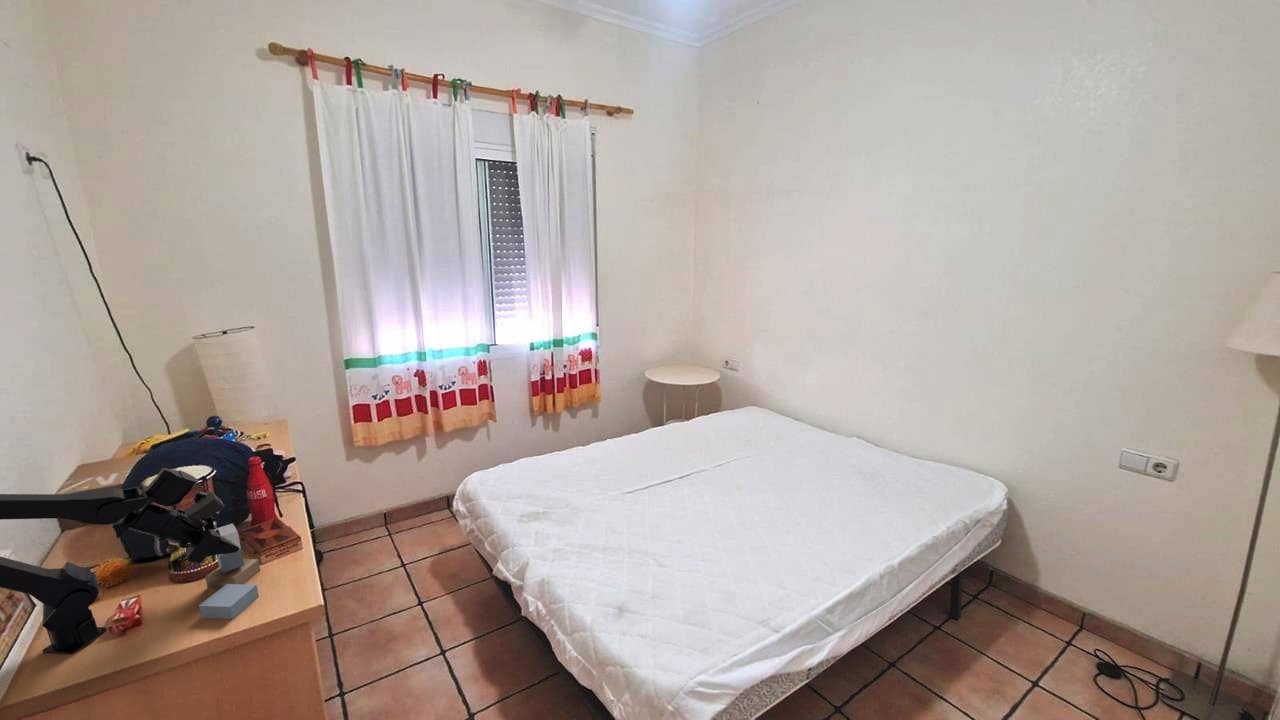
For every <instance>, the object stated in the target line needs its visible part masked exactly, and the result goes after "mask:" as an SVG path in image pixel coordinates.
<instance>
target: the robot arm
mask: <svg viewBox="0 0 1280 720" xmlns="http://www.w3.org/2000/svg"><path fill="white" fill-rule="evenodd" d="M198 483H199V479H198V478H197V477H195V476H193V475H191V474H189V473H187V471H186V472H185V471H183V470H177V469H173V468H172V469H171V468H166V467H162V468H161V469H160V470H159V472H158V473H157V476H155V477H154V479H152V481H150V483H149V484H148V485H147V486H145V485H141V486H135V487H129V488H123V489H121V488H118V487H105V488H96V489H88V490H83V491H79V492H74V493H65V494H61V493H60V494H57V493H55V494H54V493H53V494H49V493H46V494H45V493H44V494H40V493H38V494H36V493H35V494H32V493H29V494H28V493H22V494H21V493H14V494H13V493H11V494H8V493H0V520H43V519H44V520H45V519H49V520H51V519H61V520H69V521H74V522H76V523H80V524H91V525H103V526H107V525H111V528H112V529H113V530H114V533H115V537H116V539H119V538H122V536H124V534H125V533H126V532H127V531H128V530H132V531H134V532H135V531H138V532H141V533H145V534H148V535H152V536H155V537H157V539H158V541H161V542H164V541H165V540H168V541H172V542H175V543H178V545H179V547H181V548H185V546H186V545H187V544H188V543H191V544H190V546H189V547H188V548H187V549H186V552H185V554H186V556H187V559H188V562H189V563H193V564H195V565H196V564H197V565H200V564H202V563H203V561H204V560H205V558H206V557H212V556H217V555H220V554H228V553H236V552H237V551H238V550H239V547H237V546H236V545H234V544H232V543H230V542H228V541H226V540H224V539H222V538H221V537H220V532H219V531H218V529H217V528H218V527H217V526H216V525H215V524H214V519H213V517H212V516H213V515H215V514H216V513H218V512H221V511H222V510H224V508H225V506H226V505H225V504H224V503H223V501H222V500H221V498H219V497H218V496H217V495H216V494H215V493H214V492H211V491H208V492H203V491H198V492H196V493H194V494H193V495H192V499H193V501H194V504H193V503H192V504H191V506H190V507H189V508H187V509H186V510H184V509H181V508H179V509H177V508H176V509H175V510H171V509H168V508H165V507H162V506H166V507H170V506H174V505H175V504H179V503H182V501H183V500H184V499H185V497H186V496H187V495H188V494H189V493H190V492H191V491H192V490H193V489H194V487H195V486H196V485H197V484H198ZM161 505H162V506H161ZM213 529H217V530H216V531H214V530H213ZM0 589H4V590H5V589H6V590H10V591H15V592H18V593H22V594H27V595H29V596H32V597H33V598H34V599H36V600H37V601H39V602H40V603H42V624H41V625H42V627H43V628H44V629H45V630H46V632H47V635H48V639H49V641H50V644H49V645H47V646H46V647H45V648H43V649H42V651H41V652H42V654H59V655H61V654H62V655H72V654H74V653H77V652H78V651H79V650H80V649H82V648H84V647H85V646H86V645H88V644H89V643H90V642H93V640H95V639H96V638H97V637H99V636H101V635H102V634H104V633H105V632H106V631H107V630H108V629H107V627H106V626H105V627H104V626H98V625H97V622H96V618H95V617H94V614H93V612H92V609H90V606H91V605H93V604H94V603H95V602H96V600H97V598H98V597H99V586H98V578H97V575H96V574H95V573H94V572H93V571H91V566H79V565H77V564H75V563H73V562H70V561H65V563H64V565H63V566H62V567H61V568H47V567H46V568H45V567H41V566H38V565H34V564H29V563H26V562H23V561H22V562H21V561H18V560H16V559H11V558H8V557H5V556H0Z"/></svg>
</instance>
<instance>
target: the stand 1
mask: <svg viewBox="0 0 1280 720" xmlns="http://www.w3.org/2000/svg"><path fill="white" fill-rule="evenodd" d="M243 561H244V566H241V567H238V568H236V569H233V570H230V571H228V572H225V573H223V572H222V570H221V568H220V566H218V567H217V568H216V569H214V570H212V571H211V572H210V573H208V574H207V575H206V576H205V577H204V578H205V581H206V586H207V589H213V590H220V589H221V588H222V587H223V586H225V585H226V584H245V583H246V582H248V581H249V580H250V579H251V578H252V577H254V576H255V575H256V574H257V573H259V572H260V571H261V566H260V561H259V559H257V558H243Z"/></svg>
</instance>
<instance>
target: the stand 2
mask: <svg viewBox="0 0 1280 720" xmlns="http://www.w3.org/2000/svg"><path fill="white" fill-rule="evenodd" d="M259 597H260V596H259V590H258V585H257V584H248V583H247V584H245V583H244V584H226V585H225V586H223V587H222V588H221V589H217V591H216V592H214V593H213V594H212V595H211V596H209V597H208V598H206V599H205V600H204V601H202V603H200V604H199V605H198V608H199V613H200V617H201V618H202V619H225V620H234V618H236V617H237V616H238V615H240V613H241V612H243V611H245V610H244V609H246V608H247V607H248V606H250V605H251V604H252V603H253V602H254V601H256V599H257V598H259Z"/></svg>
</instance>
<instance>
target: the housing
mask: <svg viewBox="0 0 1280 720" xmlns="http://www.w3.org/2000/svg"><path fill="white" fill-rule="evenodd" d="M217 529H218V531H219V532H220V537H221V538H222V539H224V540H226V541H228V542H230V543H232V544H234V545H236V546H237V547H239V550H238V551H237V552H236V553H228V554H220V555H216V558H217V562H218V565H219V566H218V567H220V568H221V570H222V572H223V573H225V572H228V571H230V570H233V569H236V568H238V567H241V566H244V561H243V559H244V556H243V552H242V547H241V542H240V537H239V531H238V529H237V528H236V525H234V523H229V524H226V525H223V526H220V527H217ZM217 529H213V530H214V531H216V530H217Z"/></svg>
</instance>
